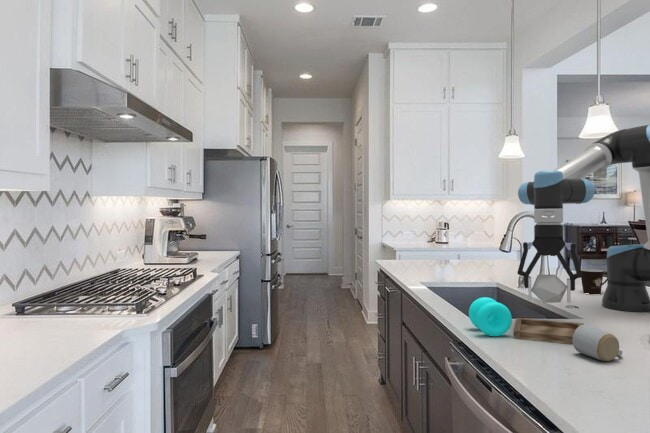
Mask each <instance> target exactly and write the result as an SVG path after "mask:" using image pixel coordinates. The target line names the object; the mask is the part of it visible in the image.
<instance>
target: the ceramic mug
mask: <svg viewBox="0 0 650 433" xmlns="http://www.w3.org/2000/svg"><path fill="white" fill-rule="evenodd" d="M572 342H573V344H572V346H573V348H574V350H575V351H576V352H578V353H580V354H582V355H585V356H587V357H590V358H593V359H596V360H598V361H601V362H602V361H603V362H610V361H612V360H614V359H616V357H620V358H621V357H622V355H623V350H620V343H619V340H618V338H617V337H616V336H615V335H613V334H612V333H610V332H609V331H605V330H602V329H600V328H599V327H595V326H593V325H590V324H585V323H584V324H583V325H581V326H579V327H578V328H577V329H576V330H575V332H574V334H573V339H572Z"/></svg>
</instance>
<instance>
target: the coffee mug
mask: <svg viewBox="0 0 650 433" xmlns="http://www.w3.org/2000/svg"><path fill="white" fill-rule="evenodd" d="M580 269H581V273H582V277H581V278H580V280H581V285H582V293H583V292H584V293H589V294H600V295H601V294H602V288H603V287H602V286H603V285H605V284H607V278H606V279H605V280H604V281H603V279H604V275H605V276H607V272H604V270H601V269H594V268H580ZM584 293H583V294H584Z"/></svg>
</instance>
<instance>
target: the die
mask: <svg viewBox="0 0 650 433" xmlns="http://www.w3.org/2000/svg"><path fill="white" fill-rule="evenodd" d="M566 292H567V284H565V283H564V282H563V281H562V280H561V279H560V278H559V277H558V276H557V275H556V274H537V275H536V277H535V281H534V283H533V286H531V293H533V294H534V295H535V296H536V297H537V298H538V299H539V300H540V302H542V303H543V304H545V303H546V304H547V303H549V304H551V303H554V304H555V303H561V302H562V300H563V297H564V296H565V293H566Z"/></svg>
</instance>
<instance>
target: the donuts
mask: <svg viewBox="0 0 650 433" xmlns="http://www.w3.org/2000/svg"><path fill="white" fill-rule="evenodd" d="M512 317H513V316H512V313H511V311H510V309H509V308H508V307H507V305H504V303H501V302H498V301H496V300H495V299H494V298H491V297H488V296H487V297H486V296H484V297H483V296H482V297H478V298H477V299H475V300H474V301H472V303H471V305H470V307H469V309H468V318H469V320H470V322H471V324H473V326H474V327H476V328H477V329H479V330H480V331H481V332H482V333H483V334H485V335H487V336H489V337H500V336H503V335H505V334H506V333H507V332H508V331H509V330H510V328H511V325H512V324H513V323H512V322H513V320H512V319H513V318H512Z"/></svg>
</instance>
